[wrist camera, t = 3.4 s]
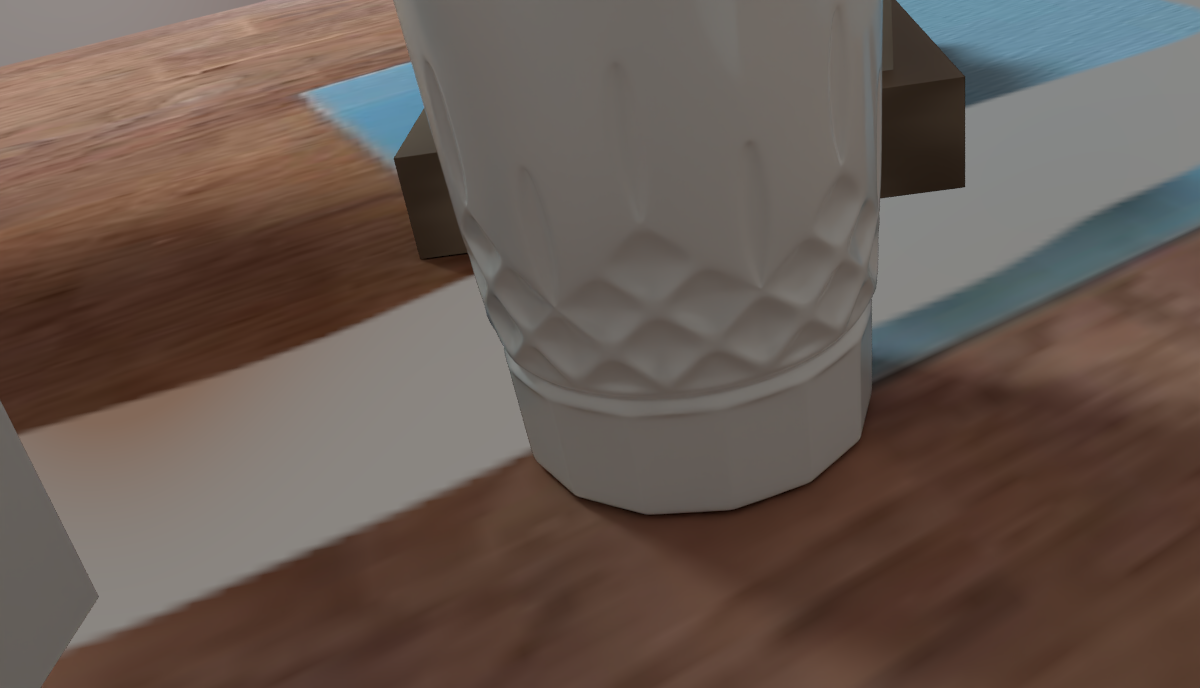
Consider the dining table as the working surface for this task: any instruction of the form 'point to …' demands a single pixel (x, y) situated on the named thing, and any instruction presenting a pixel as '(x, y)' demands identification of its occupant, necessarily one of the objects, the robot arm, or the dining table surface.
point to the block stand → (909, 135)
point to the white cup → (668, 229)
